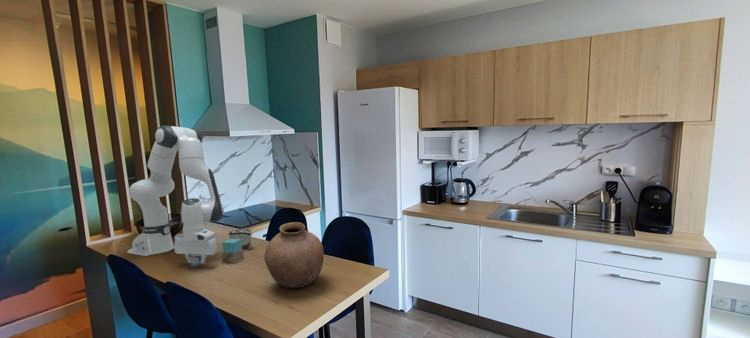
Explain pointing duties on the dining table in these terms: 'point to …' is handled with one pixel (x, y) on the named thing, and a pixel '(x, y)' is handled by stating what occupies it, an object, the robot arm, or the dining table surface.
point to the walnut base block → (232, 257)
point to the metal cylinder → (196, 261)
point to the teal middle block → (232, 246)
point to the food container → (242, 237)
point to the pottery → (294, 256)
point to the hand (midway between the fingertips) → (196, 262)
